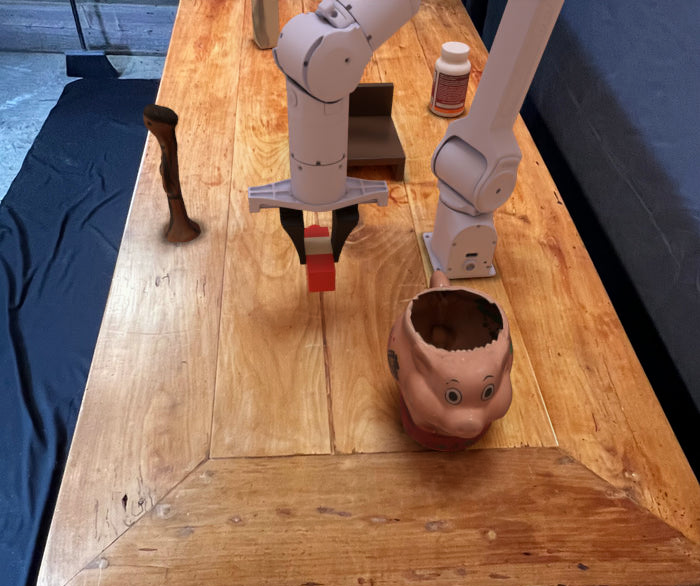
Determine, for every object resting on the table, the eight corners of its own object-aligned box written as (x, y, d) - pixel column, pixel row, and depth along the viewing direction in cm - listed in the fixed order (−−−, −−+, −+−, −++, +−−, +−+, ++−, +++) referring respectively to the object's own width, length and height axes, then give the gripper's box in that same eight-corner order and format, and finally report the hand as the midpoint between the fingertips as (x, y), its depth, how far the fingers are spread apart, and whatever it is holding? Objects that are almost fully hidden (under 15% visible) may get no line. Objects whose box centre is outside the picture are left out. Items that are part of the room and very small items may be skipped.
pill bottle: (470, 113, 113) (482, 50, 104) (443, 121, 110) (453, 57, 102) (448, 99, 116) (458, 37, 108) (422, 106, 114) (430, 44, 105)
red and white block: (335, 291, 70) (336, 270, 68) (308, 293, 70) (307, 272, 68) (327, 240, 76) (327, 219, 74) (301, 241, 76) (301, 221, 74)
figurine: (166, 214, 89) (140, 90, 76) (202, 213, 89) (182, 90, 76) (162, 247, 84) (132, 120, 71) (200, 245, 84) (177, 119, 71)
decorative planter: (365, 342, 74) (372, 248, 63) (464, 332, 75) (487, 239, 65) (403, 491, 60) (420, 403, 50) (522, 475, 62) (563, 387, 52)
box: (252, 40, 130) (247, -29, 121) (272, 37, 132) (269, -31, 122) (261, 50, 127) (256, -20, 118) (281, 47, 129) (278, -23, 119)
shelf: (403, 180, 97) (409, 126, 90) (300, 184, 95) (298, 129, 89) (388, 134, 106) (392, 82, 100) (294, 137, 105) (292, 84, 98)
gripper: (384, 127, 65) (375, 233, 75) (243, 132, 63) (253, 239, 73) (396, 164, 60) (385, 271, 70) (244, 170, 59) (255, 279, 69)
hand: (318, 258), depth 72 cm, fingers closed on red and white block, 3 cm apart
